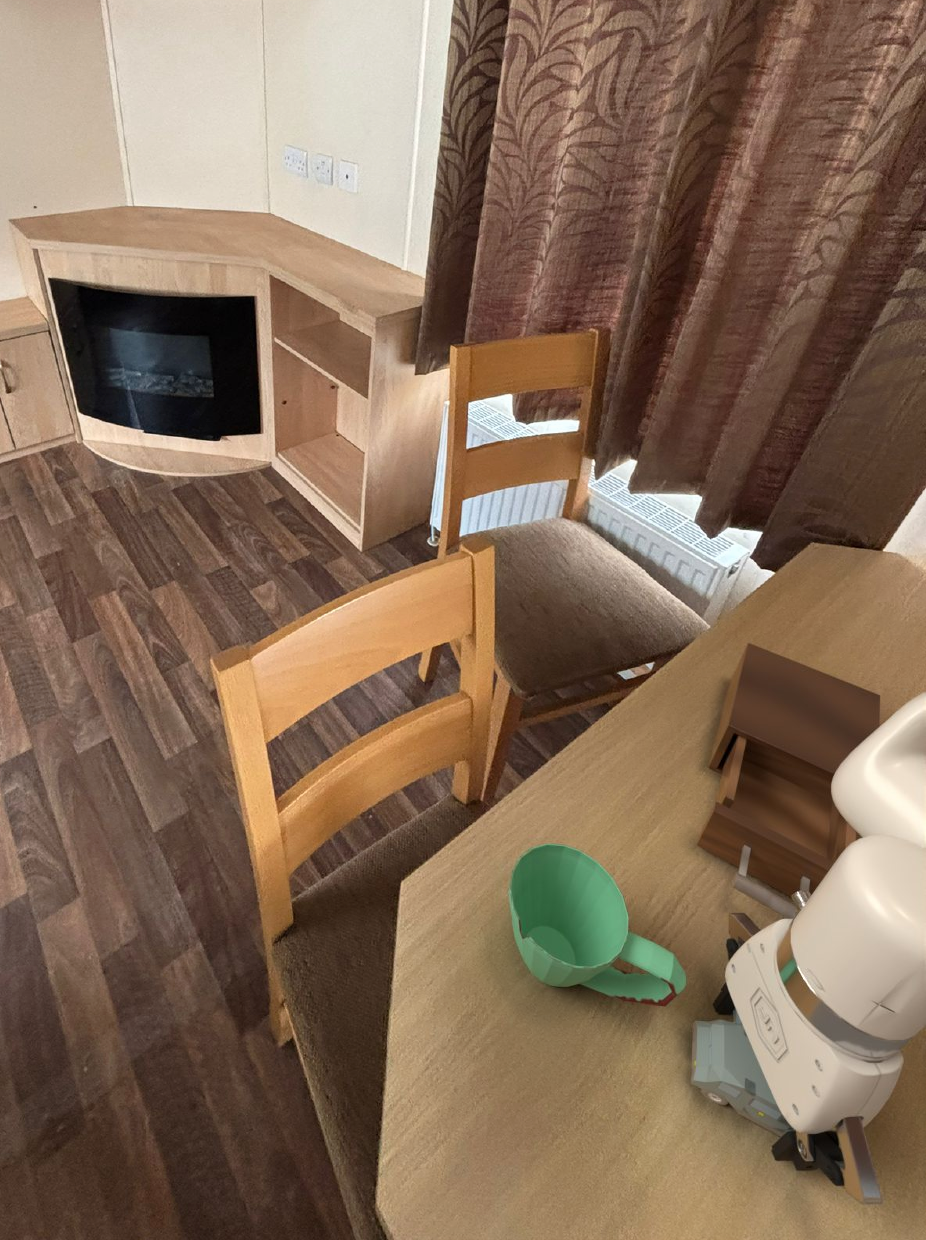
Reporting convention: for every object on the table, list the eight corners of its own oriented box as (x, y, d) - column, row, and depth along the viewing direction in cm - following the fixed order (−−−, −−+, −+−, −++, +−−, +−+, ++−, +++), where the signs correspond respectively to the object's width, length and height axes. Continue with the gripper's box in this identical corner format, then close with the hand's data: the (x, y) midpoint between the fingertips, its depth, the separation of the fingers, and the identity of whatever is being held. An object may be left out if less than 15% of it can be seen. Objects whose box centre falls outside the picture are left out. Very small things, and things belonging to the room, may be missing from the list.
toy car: (831, 1168, 51) (857, 1148, 49) (686, 1089, 55) (703, 1066, 53) (822, 1069, 56) (845, 1046, 54) (689, 1002, 60) (705, 978, 58)
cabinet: (846, 838, 72) (878, 794, 68) (707, 769, 79) (728, 725, 75) (852, 739, 83) (880, 695, 78) (728, 685, 89) (748, 642, 85)
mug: (480, 977, 62) (494, 923, 57) (513, 878, 69) (528, 823, 64) (652, 1087, 55) (685, 1037, 50) (669, 965, 63) (699, 911, 58)
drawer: (834, 970, 62) (862, 937, 58) (686, 884, 68) (704, 850, 65) (844, 809, 74) (868, 775, 71) (719, 750, 80) (735, 715, 77)
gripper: (723, 849, 54) (666, 953, 62) (879, 1165, 39) (775, 1242, 48) (818, 849, 54) (748, 952, 63) (1010, 1164, 39) (881, 1241, 48)
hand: (760, 1077), depth 55 cm, fingers closed on toy car, 8 cm apart
